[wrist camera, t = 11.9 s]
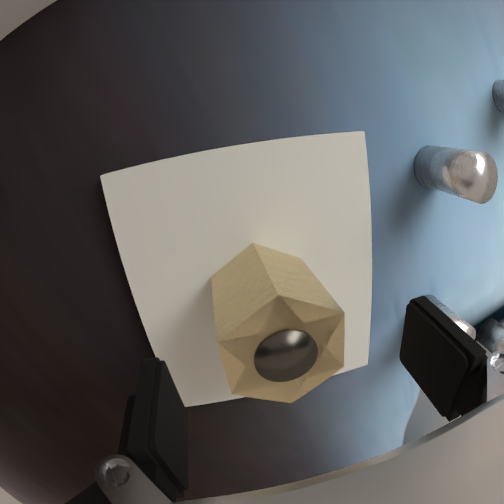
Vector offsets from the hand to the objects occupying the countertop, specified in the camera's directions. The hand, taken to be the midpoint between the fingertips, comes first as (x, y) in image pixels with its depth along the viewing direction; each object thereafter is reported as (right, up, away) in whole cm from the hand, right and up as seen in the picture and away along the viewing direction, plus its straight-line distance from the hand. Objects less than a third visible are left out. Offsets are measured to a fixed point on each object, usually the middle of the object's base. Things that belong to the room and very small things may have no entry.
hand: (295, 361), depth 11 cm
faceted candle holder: (-1, +2, +7) cm, 7 cm away
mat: (-1, +2, +8) cm, 8 cm away
